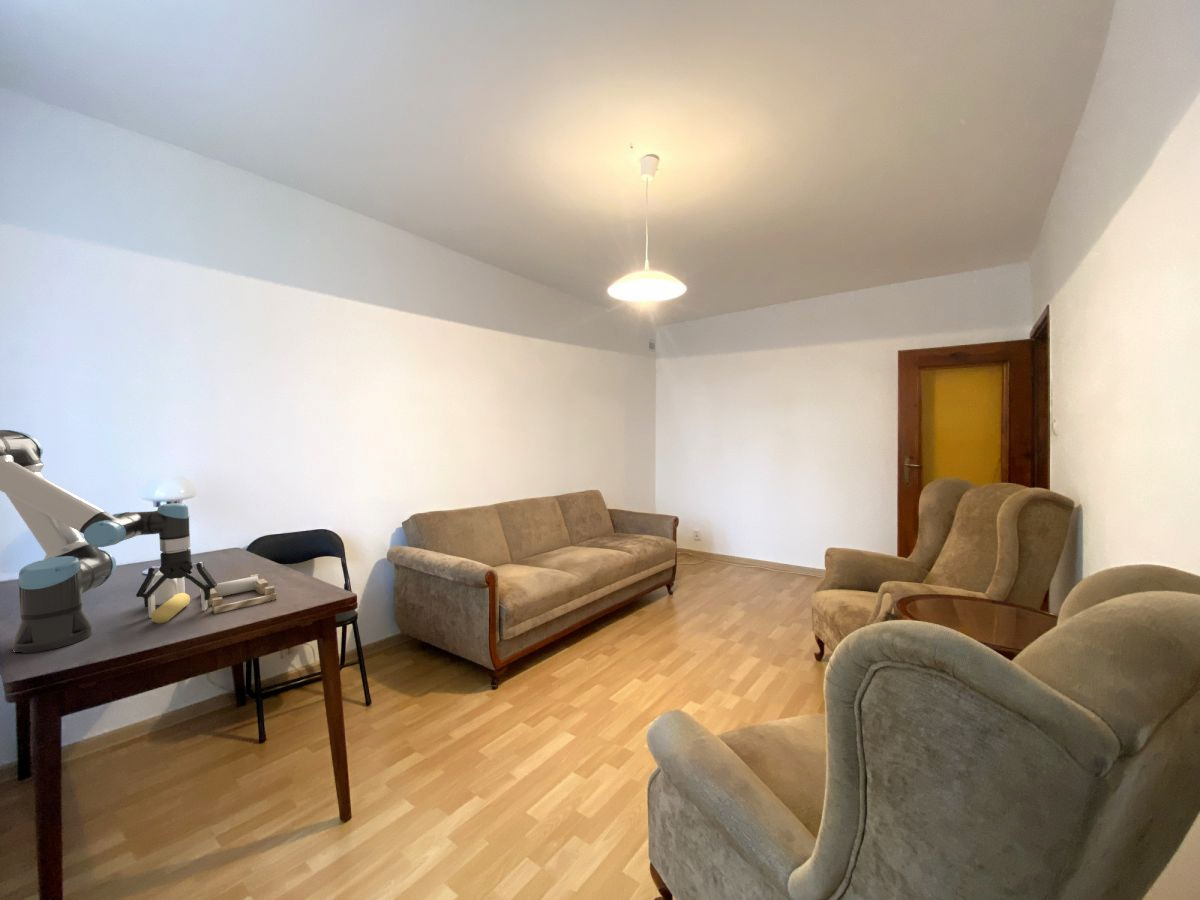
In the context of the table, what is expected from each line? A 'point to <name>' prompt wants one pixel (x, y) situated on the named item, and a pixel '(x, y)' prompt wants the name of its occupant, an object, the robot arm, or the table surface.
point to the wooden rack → (260, 588)
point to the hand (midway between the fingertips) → (179, 613)
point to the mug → (167, 588)
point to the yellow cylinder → (170, 608)
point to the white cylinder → (236, 586)
